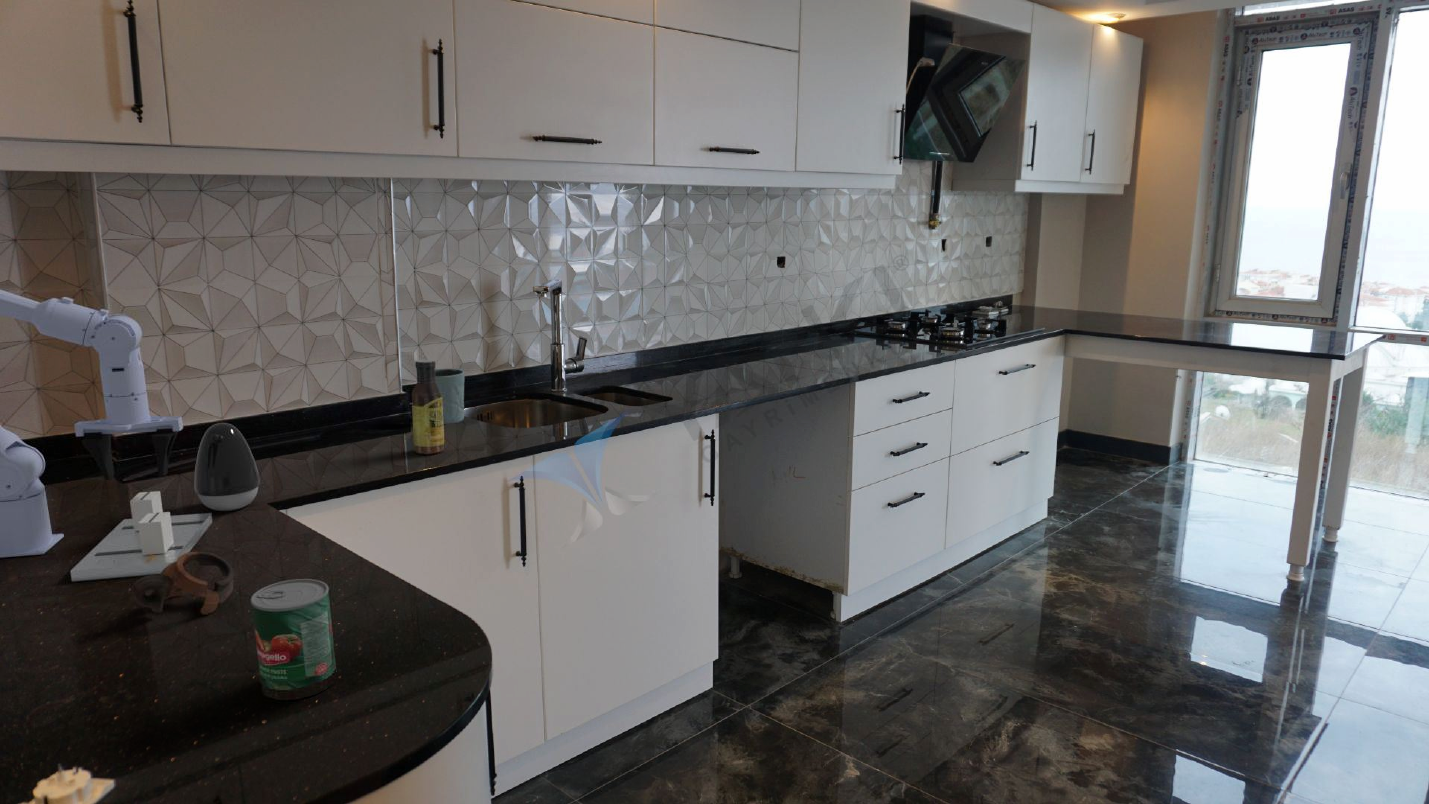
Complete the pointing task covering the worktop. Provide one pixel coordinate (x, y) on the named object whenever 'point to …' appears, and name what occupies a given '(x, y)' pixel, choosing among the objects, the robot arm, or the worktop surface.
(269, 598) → the canned tomato
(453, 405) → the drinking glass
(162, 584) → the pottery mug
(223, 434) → the black egg shape
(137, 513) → the far fader cap
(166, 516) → the cap
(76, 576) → the board
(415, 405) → the sauce bottle
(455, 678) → the worktop surface
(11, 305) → the robot arm
